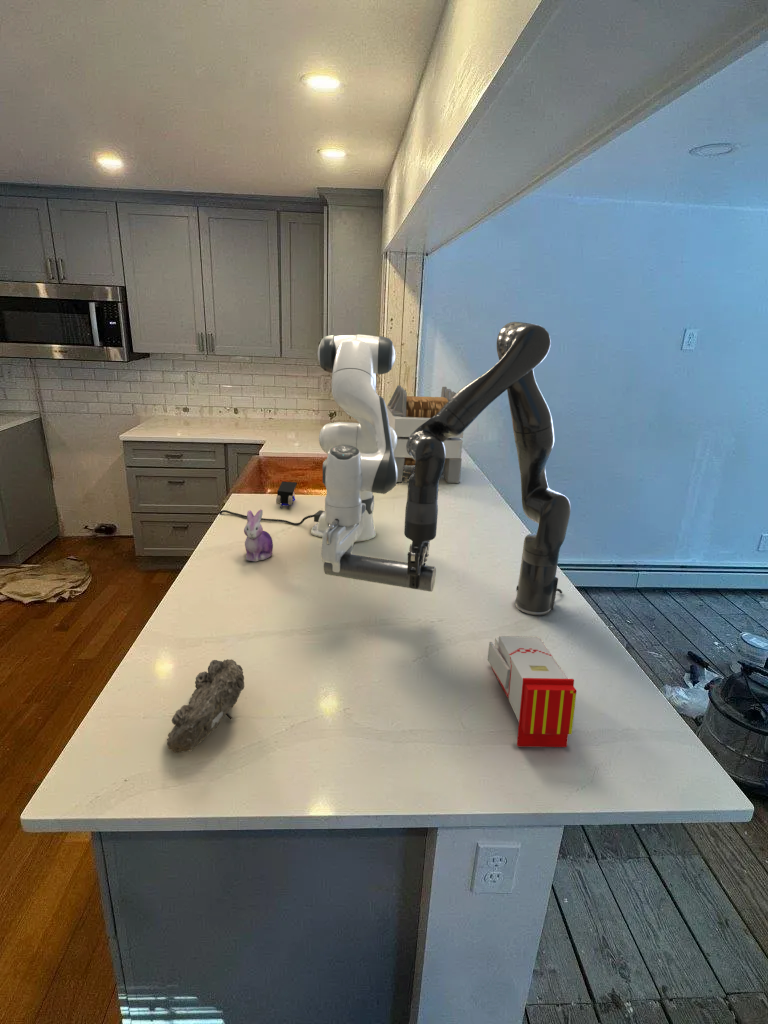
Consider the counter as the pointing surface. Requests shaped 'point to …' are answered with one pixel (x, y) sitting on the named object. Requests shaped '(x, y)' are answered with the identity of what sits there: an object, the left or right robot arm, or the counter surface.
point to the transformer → (411, 415)
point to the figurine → (257, 538)
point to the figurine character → (286, 494)
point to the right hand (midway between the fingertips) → (417, 581)
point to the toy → (534, 690)
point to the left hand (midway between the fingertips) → (342, 564)
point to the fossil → (206, 705)
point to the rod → (381, 571)
